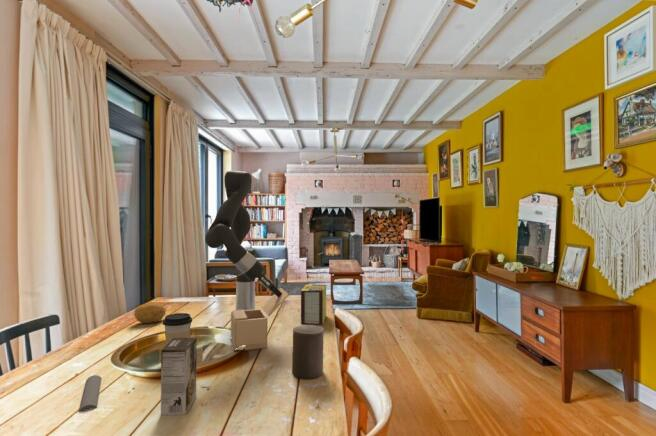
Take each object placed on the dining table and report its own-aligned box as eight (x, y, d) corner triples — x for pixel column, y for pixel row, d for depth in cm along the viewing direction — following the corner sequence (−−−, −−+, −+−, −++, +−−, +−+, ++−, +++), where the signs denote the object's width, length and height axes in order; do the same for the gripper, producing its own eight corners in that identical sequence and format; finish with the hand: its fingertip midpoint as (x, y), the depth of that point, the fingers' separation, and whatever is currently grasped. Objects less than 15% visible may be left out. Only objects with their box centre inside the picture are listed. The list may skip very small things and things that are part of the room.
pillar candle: (299, 382, 105) (300, 331, 106) (287, 369, 114) (288, 322, 114) (328, 376, 110) (329, 327, 110) (314, 364, 119) (315, 319, 119)
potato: (168, 302, 165) (162, 297, 172) (136, 308, 157) (131, 302, 164) (168, 322, 166) (163, 316, 173) (137, 329, 158) (132, 322, 165)
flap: (261, 307, 147) (280, 287, 149) (263, 308, 147) (281, 288, 150) (268, 315, 134) (288, 293, 137) (269, 317, 134) (289, 295, 137)
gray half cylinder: (102, 379, 107) (102, 373, 107) (97, 410, 90) (97, 402, 90) (85, 382, 105) (85, 376, 105) (77, 414, 88) (77, 407, 88)
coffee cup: (198, 357, 123) (198, 314, 123) (176, 367, 115) (176, 321, 115) (178, 353, 127) (178, 311, 127) (155, 362, 119) (155, 317, 119)
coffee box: (172, 397, 96) (173, 337, 96) (197, 396, 97) (197, 336, 97) (159, 415, 87) (159, 349, 87) (186, 414, 87) (187, 348, 88)
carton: (230, 338, 143) (230, 309, 143) (260, 335, 147) (260, 307, 147) (234, 351, 129) (234, 319, 129) (267, 347, 133) (267, 316, 133)
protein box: (326, 315, 179) (326, 284, 179) (322, 324, 163) (323, 290, 163) (305, 315, 180) (305, 284, 180) (300, 323, 164) (300, 290, 164)
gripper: (258, 260, 133) (290, 291, 137) (253, 257, 145) (283, 285, 150) (244, 275, 131) (277, 306, 135) (240, 270, 144) (270, 298, 148)
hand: (280, 295), depth 142 cm, fingers closed
